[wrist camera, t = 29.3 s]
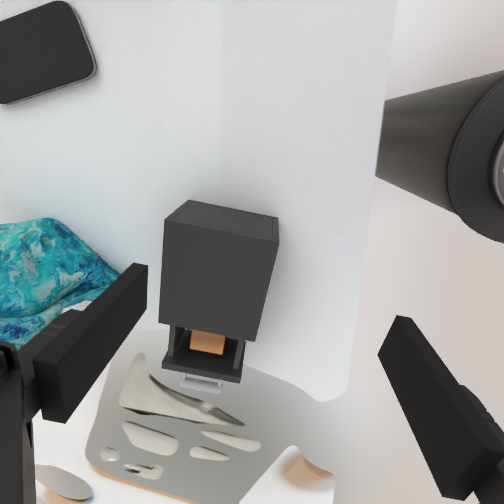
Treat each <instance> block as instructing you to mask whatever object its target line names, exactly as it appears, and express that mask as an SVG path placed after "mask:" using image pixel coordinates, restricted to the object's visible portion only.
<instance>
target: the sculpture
mask: <svg viewBox="0 0 504 504" xmlns="http://www.w3.org/2000/svg"><path fill="white" fill-rule="evenodd" d="M120 275H121V274H120V273H118V272H116V271H115V270H114V269H112V268H111V267H110V266H109V265H108V264H107V263H105V262H104V261H103V260H102V259H101V258H100V257H99V256H98V255H97V254H96V253H94V252H93V251H92V250H91V249H90V248H89V247H88V246H86V245H85V244H84V243H83V242H82V241H81V240H80V239H78V238H77V237H76V236H75V235H74V234H73V233H72V232H71V231H69V230H68V229H67V228H66V227H65V226H64V225H62V224H61V223H60V222H58V221H56V220H54V219H51V218H44V219H38V220H33V221H28V222H21V223H10V224H0V341H2V342H10V343H11V344H13V345H15V347H16V349H17V351H18V350H19V349H20V348H21V347H22V346H24V345H25V344H26V343H27V342H28V341H29V340H30V339H32V338H33V337H34V336H35V335H36V334H37V333H38V334H39V333H40V331H41V330H42V329H43V328H44V327H45V326H48V324H49V323H50V322H51V321H52V320H54V319H55V318H56V317H57V316H58V315H60V314H61V312H62V310H63V308H67V307H70V306H72V305H75V304H77V303H80V302H82V301H84V300H88V301H94V300H95V299H96V298H97V297H98V296H99V295H100V294H101V293H102V292H103V291H104V290H105V289H106V288H107V287H108V286H109V285H111V284H112V283H113V282H114V281H115V280H116V279H117V278H118V277H119V276H120Z"/></svg>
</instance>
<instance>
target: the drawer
mask: <svg viewBox="0 0 504 504" xmlns="http://www.w3.org/2000/svg"><path fill="white" fill-rule="evenodd" d="M191 333H192V331H190V330H185V328H183V327H178V326H173V325H170V334H169V345H168V351H167V353H166V355H165V357H164V359H163V361H162V368H163V369H168V370H174V371H179V372H182V377H181V380H180V383H179V386H180V387H184V388H189V389H194V390H200V391H204V392H210V393H214V394H219V395H220V394H221V391H222V385H223V384H222V380H224V381H229V382H235V383H240V380H241V374H242V367H243V359H244V352H245V344H246V342H245V340H243V339H238V340H235V339H230V338H226V341H225V345H224V350H223V354H222V355H221V354H215V353H210V352H205V351H199V350H194V349H190V342H191ZM187 373H189V374H195V375H199V376H204V377H210V378H214V379H219V381H218V383H214V382H209V381H204V380H199V379H194V378H188V377H186V375H187Z"/></svg>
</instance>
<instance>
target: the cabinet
mask: <svg viewBox="0 0 504 504" xmlns="http://www.w3.org/2000/svg"><path fill="white" fill-rule="evenodd" d="M278 246H279V228H278V218H276V217H271V216H266V215H261V214H256V213H252V212H247V211H242V210H237V209H232V208H227V207H222V206H217V205H212V204H207V203H202V202H197V201H192V200H188V201H186V202H185V203H184V204H183V205H181V206H180V207H179V208H178V209H177V210H175V211H174V212H173V213H172V214H171V215H169V216H168V217H167V218H166V219H165V221H164V238H163V254H162V270H161V287H160V303H159V319H158V323H162V324H168V325H173V326H178V327H183V328H188V329H193V330H198V331H203V332H208V333H213V334H218V335H223V336H228V337H233V338H238V339H243V340H248V341H253V342H255V339H256V335H257V331H258V327H259V323H260V318H261V314H262V310H263V306H264V302H265V298H266V294H267V290H268V286H269V282H270V278H271V274H272V270H273V266H274V262H275V258H276V254H277V250H278Z"/></svg>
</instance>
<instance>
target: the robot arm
mask: <svg viewBox="0 0 504 504" xmlns="http://www.w3.org/2000/svg"><path fill="white" fill-rule="evenodd" d="M488 184H489V188H490V191H491V193H492V196H493V197H494V199H495V201H496V202H497V203H498V204H499V205H500V206H501V207H502V208H503V209H504V131H503V132H502V134H501V135H500V137H499V139H498V140H497V142H496V144H495V146H494V149H493V151H492V154H491V157H490V161H489V166H488ZM147 282H148V265H143V264H138V263H133V264H132V265H130V266H129V267H128V268H127V269H126V270H125V271H124V272H123V273H122V274H121V275H120V276H119V277H118V278H117V279H116V280H115V281H114V282H113V283H112V284H111V285H109V286H108V287H107V288H106V289H105V290H104V291H103V292H102V293H101V294H100V295H99V296H98V297H97V298H96V299H95V300H94V301H93V302H92V303H91V304H89V305H88V306H87V307H86V308H85V309H84V310H83V311H79V310H74V309H71V310H69V311H67V312H64V313H62V314H60V315H58V316H57V317H56V318H55V319H54V320H52V321H51V322H50V323H49V324H48V326H45V327H44V328H43V329H42V330H41V331H40V333H39V334H38V333H37V334H36V335H35V336H34V337H33V338H32V339H30V340H29V341H28V342H27V343H26V344H25V345H24V346H22V347H21V348H20V349H19V350H18V351H17V349H16V347H15V345H13V344H11V343H10V342H2V341H0V504H36V487H35V465H34V443H33V423H32V418H33V417H34V416H35V415H36V413H37V412H38V411H39V410H40V409H41V411H42V417H43V420H49V421H54V422H59V423H64V424H65V423H66V422H67V421H68V419H69V418H70V416H71V415H72V414H73V412H74V411H75V409H76V408H77V406H78V405H79V404H80V402H81V401H82V399H83V398H84V397H85V395H86V394H87V392H88V391H89V390H90V388H91V387H92V385H93V384H94V382H95V381H96V380H97V378H98V377H99V375H100V374H101V373H102V371H103V370H104V368H105V367H106V366H107V364H108V363H109V361H110V360H111V358H112V357H113V356H114V354H115V353H116V351H117V350H118V349H119V347H120V346H121V344H122V343H123V341H124V340H125V339H126V337H127V335H128V334H129V333H130V332H131V330H132V329H133V327H134V326H135V325H136V323H137V322H138V320H139V319H140V318H141V316H142V315H143V313H144V312H145V310H146V309H147ZM378 357H379V359H380V361H381V363H382V366H383V368H384V370H385V372H386V374H387V377H388V379H389V381H390V383H391V386H392V388H393V390H394V392H395V394H396V396H397V399H398V401H399V403H400V405H401V407H402V410H403V412H404V414H405V416H406V418H407V421H408V423H409V425H410V427H411V429H412V432H413V433H414V436H415V438H416V440H417V442H418V445H419V447H420V449H421V451H422V453H423V456H424V458H425V460H426V462H427V464H428V466H429V469H430V471H431V473H432V475H433V478H434V480H435V482H436V484H437V486H438V488H439V491H440V493H441V495H442V497H446V498H451V499H456V500H462V501H464V500H465V499H466V498H467V497H468V496H469V495H470V494H471V493H472V492H473V491H474V493H475V495H476V496H477V498H478V500H479V502H480V503H479V504H504V432H503V431H502V429H501V428H500V427H499V425H498V424H497V423H496V422H494V419H493V417H492V416H491V415H490V413H489V412H487V411H486V408H485V407H484V405H483V404H482V403H481V402H480V400H479V399H478V398H477V397H476V396H475V395H474V394H473V393H472V392H471V391H470V390H469V389H467V388H466V387H465V386H464V385H459V383H458V382H457V381H456V379H455V378H454V376H453V375H452V374H451V372H450V371H449V370H448V368H447V367H446V365H445V364H444V363H443V361H442V360H441V358H440V357H439V356H438V354H437V353H436V352H435V350H434V349H433V347H432V346H431V345H430V343H429V342H428V341H427V339H426V338H425V336H424V335H423V334H422V332H421V331H420V329H419V328H418V327H417V325H416V324H415V323H414V321H413V320H412V319H411V318H409V317H403V316H398V315H397V316H396V318H395V320H394V322H393V324H392V326H391V328H390V330H389V332H388V334H387V336H386V338H385V340H384V342H383V344H382V346H381V348H380V350H379V353H378Z"/></svg>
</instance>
